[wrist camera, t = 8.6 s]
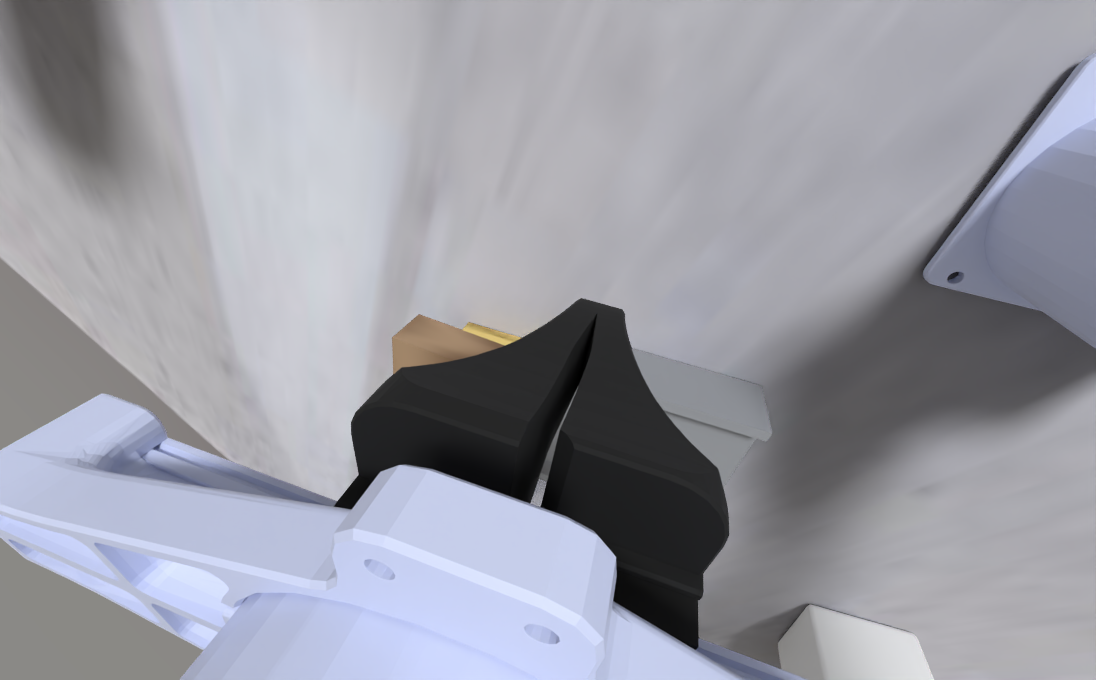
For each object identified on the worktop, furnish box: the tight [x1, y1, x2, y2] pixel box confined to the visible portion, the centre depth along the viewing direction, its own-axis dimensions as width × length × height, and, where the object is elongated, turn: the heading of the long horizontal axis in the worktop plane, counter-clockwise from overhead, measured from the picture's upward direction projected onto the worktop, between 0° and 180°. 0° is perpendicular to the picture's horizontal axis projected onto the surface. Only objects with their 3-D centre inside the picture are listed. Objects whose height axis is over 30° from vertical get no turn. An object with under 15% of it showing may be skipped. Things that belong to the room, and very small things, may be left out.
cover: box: [392, 314, 505, 374], centre depth 24 cm, size 9×7×2 cm
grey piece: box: [539, 348, 773, 488], centre depth 24 cm, size 10×9×4 cm
